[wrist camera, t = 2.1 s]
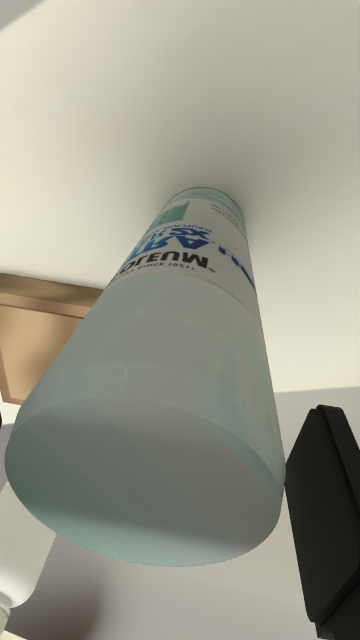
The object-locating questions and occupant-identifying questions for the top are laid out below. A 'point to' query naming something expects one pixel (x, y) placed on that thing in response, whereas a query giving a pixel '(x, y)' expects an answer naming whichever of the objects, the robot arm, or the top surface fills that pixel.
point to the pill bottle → (19, 552)
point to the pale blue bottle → (160, 404)
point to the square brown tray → (36, 328)
